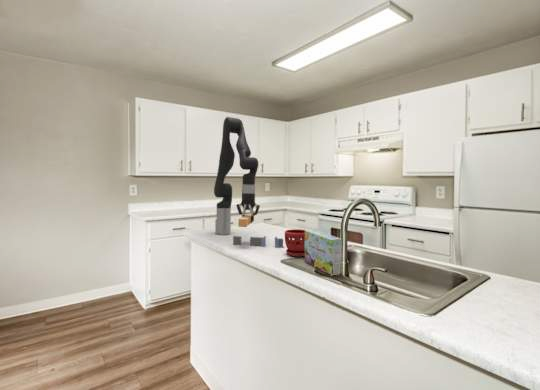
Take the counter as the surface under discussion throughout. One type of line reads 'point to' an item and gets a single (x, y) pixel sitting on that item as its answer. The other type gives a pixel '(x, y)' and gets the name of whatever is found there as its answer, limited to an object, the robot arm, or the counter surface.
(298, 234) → the plant pot
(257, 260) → the counter surface
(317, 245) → the snack box
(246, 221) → the banded orange pillar
